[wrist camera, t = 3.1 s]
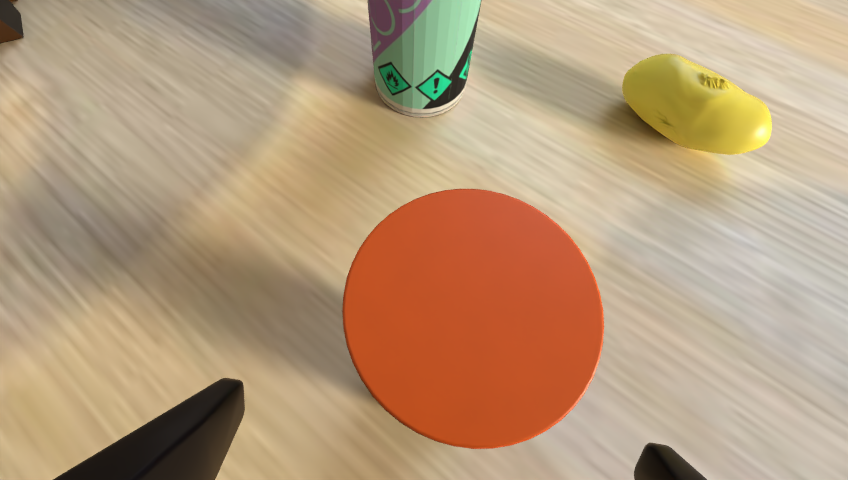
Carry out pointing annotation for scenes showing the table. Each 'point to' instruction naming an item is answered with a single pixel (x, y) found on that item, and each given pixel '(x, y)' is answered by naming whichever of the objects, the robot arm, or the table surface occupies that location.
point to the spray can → (422, 52)
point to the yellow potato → (696, 106)
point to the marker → (473, 318)
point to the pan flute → (9, 22)
